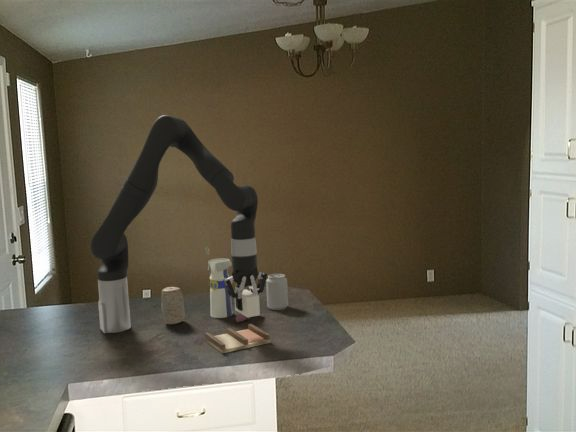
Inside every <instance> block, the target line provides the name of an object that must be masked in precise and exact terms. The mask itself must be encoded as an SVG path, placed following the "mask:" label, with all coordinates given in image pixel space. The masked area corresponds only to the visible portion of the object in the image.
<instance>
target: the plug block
mask: <svg viewBox="0 0 576 432" xmlns="http://www.w3.org/2000/svg"><path fill="white" fill-rule="evenodd" d="M234 292H235V290H234ZM241 299H242V308H243V310H242V311H240V310H238V309H237V308H236V299H235V298H234V310H235V311H236V312H237V313H239V314H240V313H241V314H242V315H244V316H246V317H250V318H252V317H258V316H260V315H261V310H260V307H261V306H260V295H259V294H258V295H257V294H255V293H253V292H251V291H250V289H249V290H248V289H247V288H244V290H243V292H242V297H241Z"/></svg>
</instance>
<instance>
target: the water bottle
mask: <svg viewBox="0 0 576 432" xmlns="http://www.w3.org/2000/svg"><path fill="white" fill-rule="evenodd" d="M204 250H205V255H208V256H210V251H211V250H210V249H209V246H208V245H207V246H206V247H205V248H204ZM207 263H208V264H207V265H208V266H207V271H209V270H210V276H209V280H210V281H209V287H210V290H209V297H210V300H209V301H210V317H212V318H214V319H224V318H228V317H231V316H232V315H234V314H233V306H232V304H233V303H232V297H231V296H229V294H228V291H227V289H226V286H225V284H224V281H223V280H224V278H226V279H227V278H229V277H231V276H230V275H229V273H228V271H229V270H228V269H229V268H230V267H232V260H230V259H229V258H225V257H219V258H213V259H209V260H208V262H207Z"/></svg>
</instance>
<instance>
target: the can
mask: <svg viewBox="0 0 576 432" xmlns="http://www.w3.org/2000/svg"><path fill="white" fill-rule="evenodd" d="M267 277H268V278H266V282H265V285H266V286H265V287H266V306H267V308H268V309H269V310H272V311H283V310H285V309H287V307H288V306H289V296H288V295H289V294H288V293H289V292H288V289H289V288H288V278H286V275H285V274H283V273H272V274H269V275H267Z"/></svg>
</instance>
